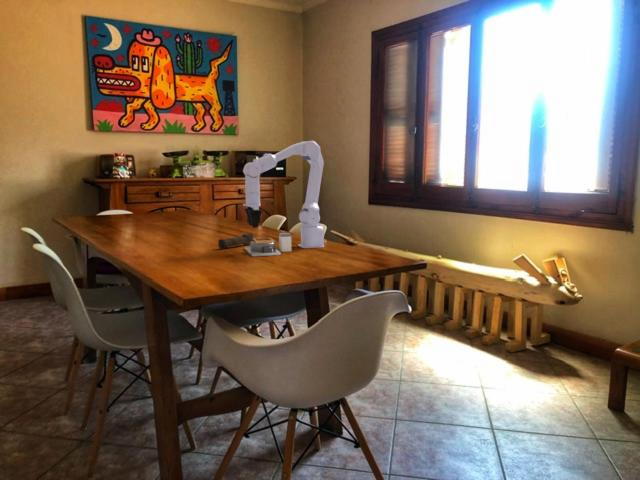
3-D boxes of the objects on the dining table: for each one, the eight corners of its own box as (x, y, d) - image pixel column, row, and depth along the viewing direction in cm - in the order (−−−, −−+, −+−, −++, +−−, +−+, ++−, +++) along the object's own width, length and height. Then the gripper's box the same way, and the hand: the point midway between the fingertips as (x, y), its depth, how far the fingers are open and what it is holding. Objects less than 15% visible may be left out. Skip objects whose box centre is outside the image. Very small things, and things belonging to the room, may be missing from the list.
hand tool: (223, 249, 208) (224, 238, 207) (217, 247, 211) (218, 236, 210) (257, 244, 223) (258, 234, 222) (251, 242, 225) (252, 232, 224)
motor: (270, 247, 214) (270, 235, 214) (280, 254, 197) (280, 242, 197) (244, 249, 211) (244, 236, 210) (252, 256, 194) (252, 243, 193)
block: (288, 249, 210) (288, 232, 208) (291, 251, 206) (291, 233, 205) (279, 250, 208) (279, 233, 207) (281, 251, 205) (281, 234, 204)
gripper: (239, 192, 212) (240, 224, 214) (245, 194, 198) (246, 229, 200) (256, 191, 214) (257, 224, 216) (263, 193, 200) (264, 228, 202)
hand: (253, 226), depth 208 cm, fingers open, 7 cm apart
